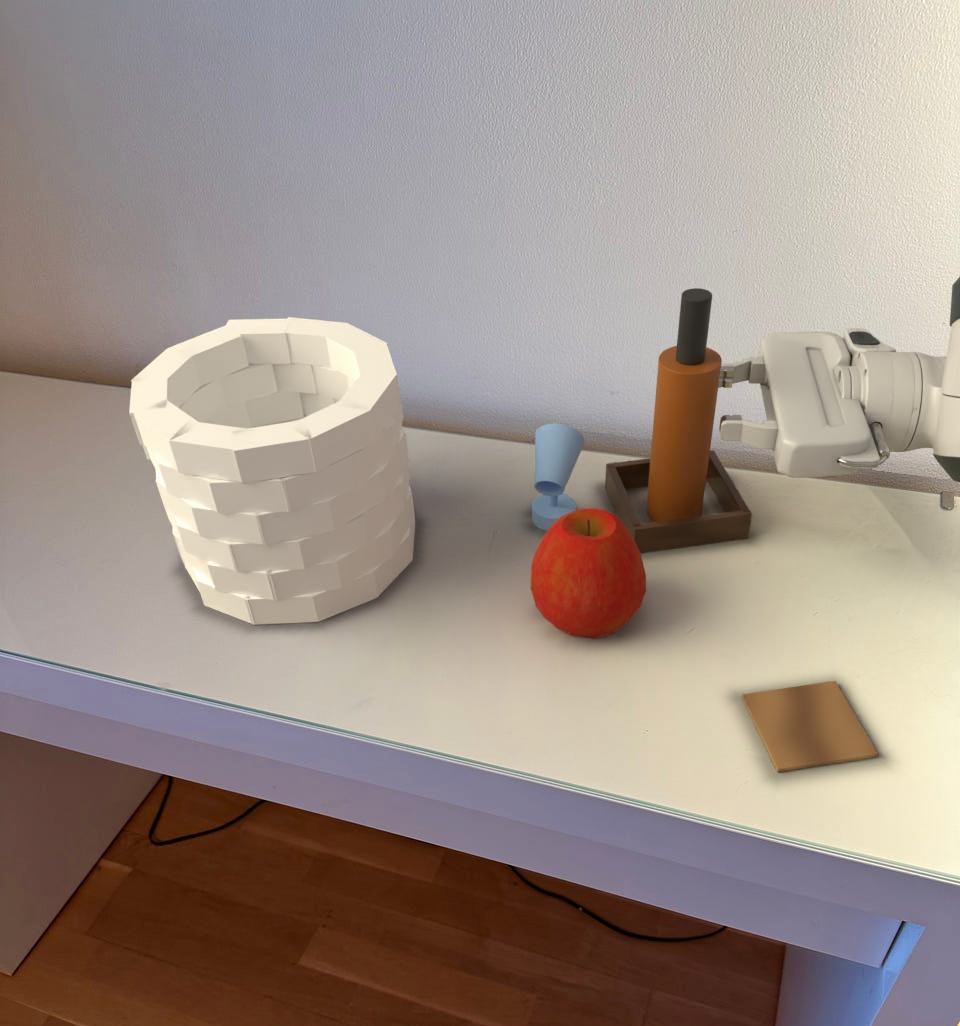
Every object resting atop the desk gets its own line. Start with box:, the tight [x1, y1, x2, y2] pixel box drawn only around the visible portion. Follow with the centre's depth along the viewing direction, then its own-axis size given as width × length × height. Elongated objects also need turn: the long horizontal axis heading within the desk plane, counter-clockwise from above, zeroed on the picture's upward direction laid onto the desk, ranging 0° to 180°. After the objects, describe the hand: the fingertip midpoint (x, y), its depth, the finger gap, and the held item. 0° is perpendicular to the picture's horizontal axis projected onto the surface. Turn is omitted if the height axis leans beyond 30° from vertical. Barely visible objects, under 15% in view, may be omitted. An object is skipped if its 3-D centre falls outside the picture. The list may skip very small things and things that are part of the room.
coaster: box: [741, 680, 879, 773], centre depth 77 cm, size 8×8×1 cm
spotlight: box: [531, 423, 585, 532], centre depth 96 cm, size 5×10×7 cm
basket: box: [128, 316, 416, 626], centre depth 91 cm, size 25×24×19 cm
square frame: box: [604, 449, 753, 554], centre depth 97 cm, size 12×12×3 cm
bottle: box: [645, 287, 723, 523], centre depth 90 cm, size 6×6×23 cm
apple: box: [530, 507, 647, 639], centre depth 85 cm, size 10×10×10 cm
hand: (716, 400), depth 89 cm, fingers open, 8 cm apart
